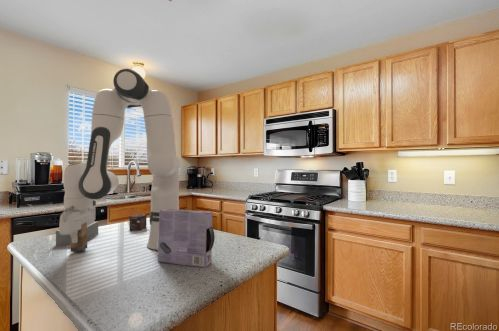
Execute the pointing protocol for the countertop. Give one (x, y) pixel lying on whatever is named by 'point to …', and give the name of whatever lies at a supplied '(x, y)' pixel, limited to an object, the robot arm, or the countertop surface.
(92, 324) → the countertop surface
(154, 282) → the countertop surface
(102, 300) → the countertop surface
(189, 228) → the cake pan box
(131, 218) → the box
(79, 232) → the brown wooden block
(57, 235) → the switch box
